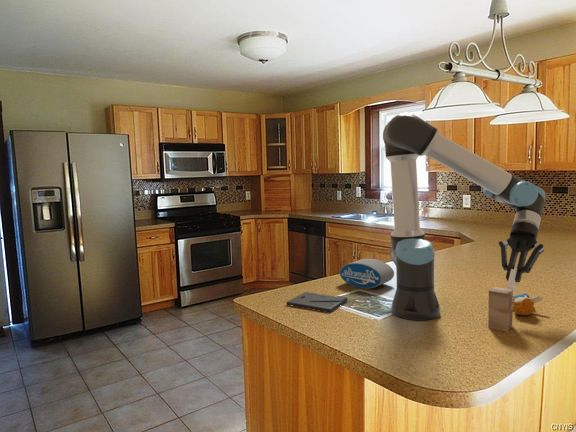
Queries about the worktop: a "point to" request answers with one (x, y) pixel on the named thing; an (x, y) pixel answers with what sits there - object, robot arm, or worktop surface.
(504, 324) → the block
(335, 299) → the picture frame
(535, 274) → the worktop surface
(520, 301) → the toy
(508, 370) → the worktop surface
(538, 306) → the worktop surface
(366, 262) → the sign
